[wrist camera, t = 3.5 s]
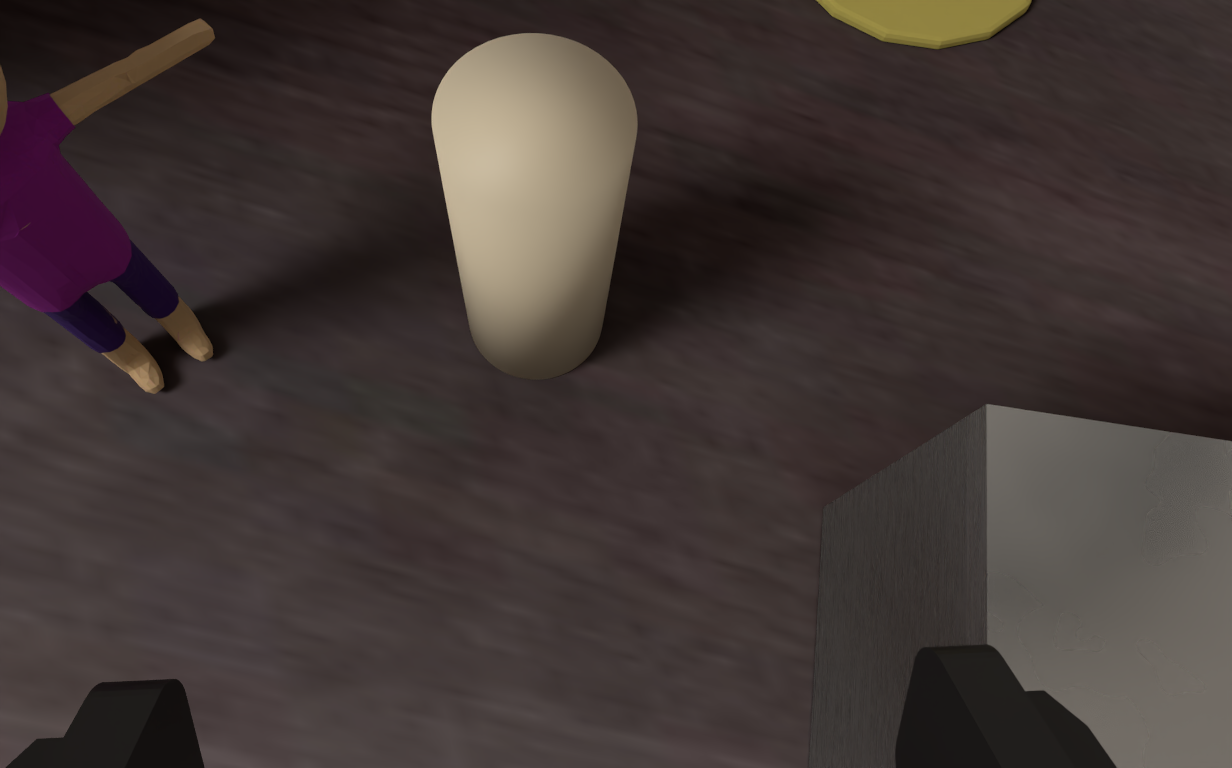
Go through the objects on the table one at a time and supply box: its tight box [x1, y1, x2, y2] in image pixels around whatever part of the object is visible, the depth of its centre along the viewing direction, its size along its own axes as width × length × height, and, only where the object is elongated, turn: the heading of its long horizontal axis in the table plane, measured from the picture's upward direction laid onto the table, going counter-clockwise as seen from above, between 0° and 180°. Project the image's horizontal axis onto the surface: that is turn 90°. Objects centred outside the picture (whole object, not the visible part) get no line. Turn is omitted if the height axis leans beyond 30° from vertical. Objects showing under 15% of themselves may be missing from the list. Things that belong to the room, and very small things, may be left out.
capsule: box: [432, 33, 638, 380], centre depth 23 cm, size 4×4×10 cm
